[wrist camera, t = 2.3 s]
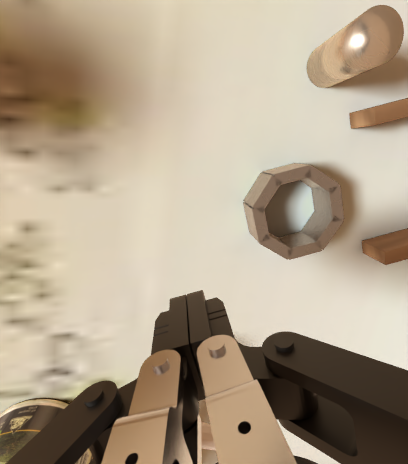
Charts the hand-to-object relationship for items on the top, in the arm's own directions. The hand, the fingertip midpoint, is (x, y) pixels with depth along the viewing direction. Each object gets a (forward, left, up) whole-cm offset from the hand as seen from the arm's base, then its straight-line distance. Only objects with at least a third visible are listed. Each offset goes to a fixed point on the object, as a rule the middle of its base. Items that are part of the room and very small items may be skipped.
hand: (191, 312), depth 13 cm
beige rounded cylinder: (-10, +14, -12) cm, 21 cm away
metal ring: (0, +9, -12) cm, 15 cm away
